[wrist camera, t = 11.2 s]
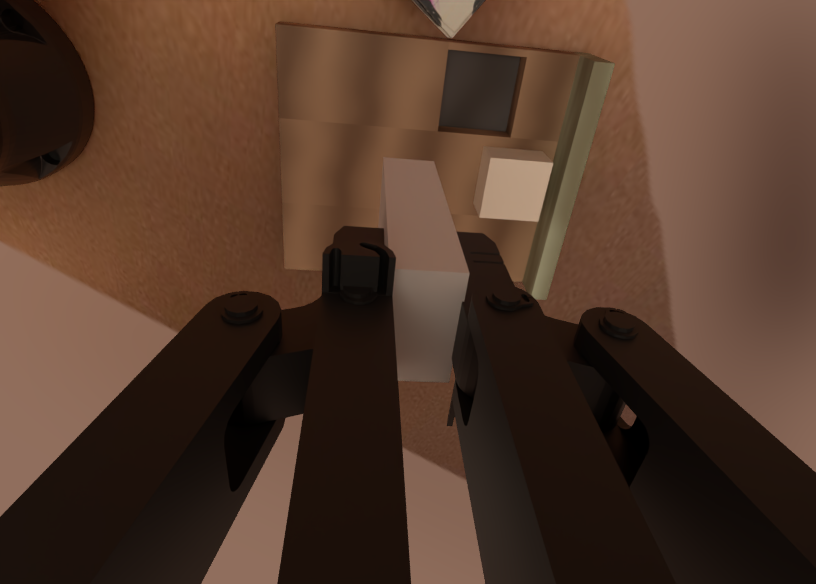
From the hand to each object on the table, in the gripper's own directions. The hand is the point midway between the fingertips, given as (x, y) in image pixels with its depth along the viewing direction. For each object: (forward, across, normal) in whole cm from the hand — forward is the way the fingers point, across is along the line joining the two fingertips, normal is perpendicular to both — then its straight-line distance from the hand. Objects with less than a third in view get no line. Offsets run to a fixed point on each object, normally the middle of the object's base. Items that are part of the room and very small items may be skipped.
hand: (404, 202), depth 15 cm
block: (+26, +11, -8) cm, 30 cm away
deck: (+28, +4, -8) cm, 30 cm away
